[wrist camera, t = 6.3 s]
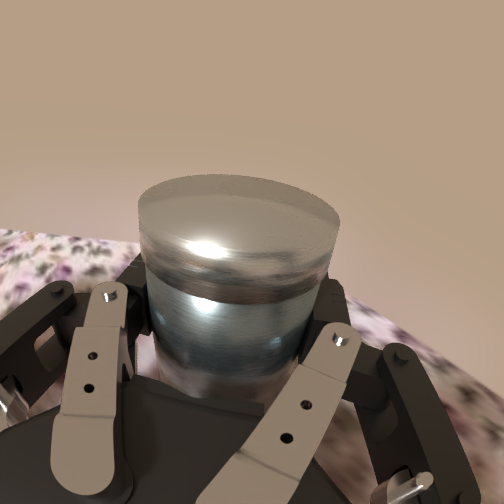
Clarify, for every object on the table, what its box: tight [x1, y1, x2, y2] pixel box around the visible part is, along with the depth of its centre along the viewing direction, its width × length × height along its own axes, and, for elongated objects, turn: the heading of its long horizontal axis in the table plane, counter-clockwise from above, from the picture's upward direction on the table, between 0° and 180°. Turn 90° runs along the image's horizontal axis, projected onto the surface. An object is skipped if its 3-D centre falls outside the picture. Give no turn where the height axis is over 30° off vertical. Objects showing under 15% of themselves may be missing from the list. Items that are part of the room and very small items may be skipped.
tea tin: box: [138, 174, 340, 414], centre depth 11 cm, size 6×6×10 cm
